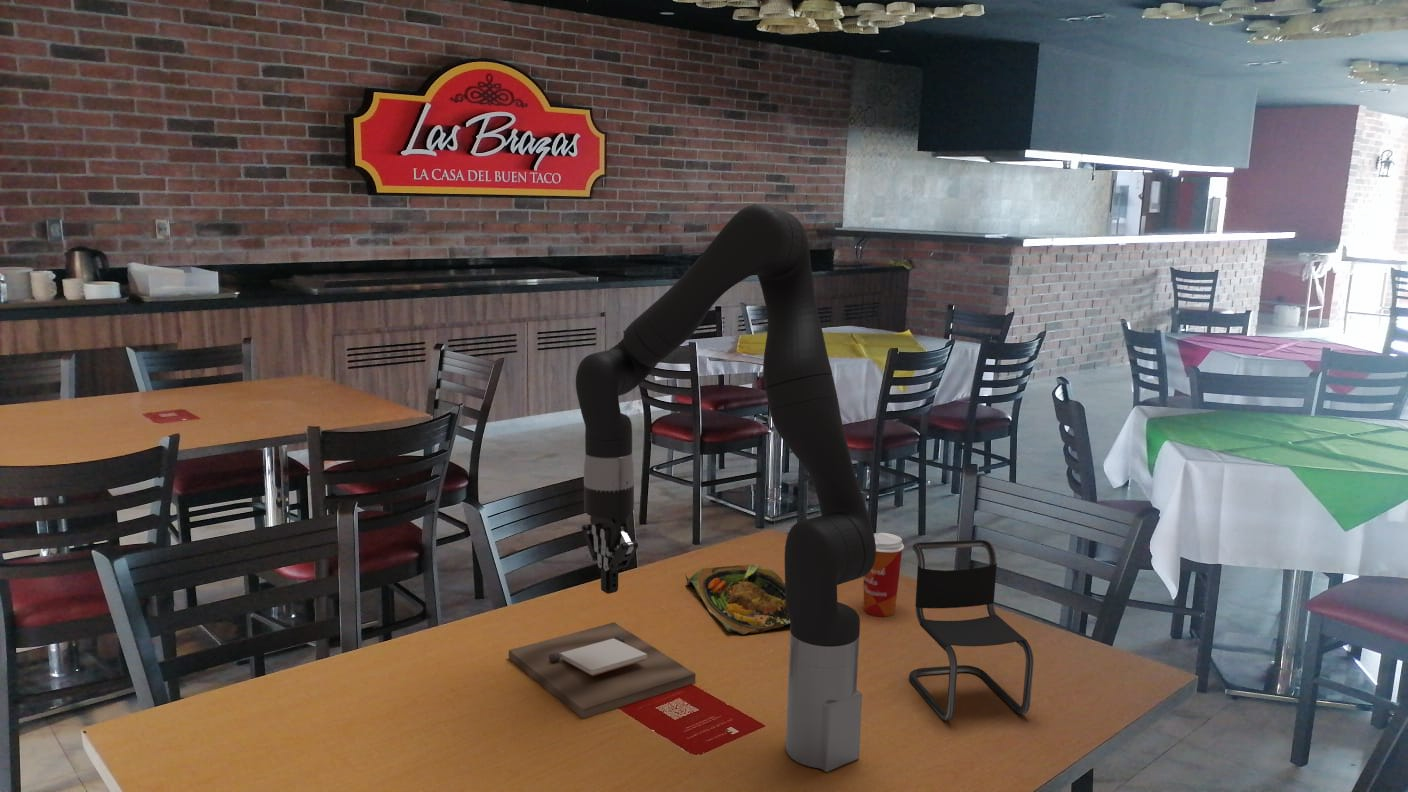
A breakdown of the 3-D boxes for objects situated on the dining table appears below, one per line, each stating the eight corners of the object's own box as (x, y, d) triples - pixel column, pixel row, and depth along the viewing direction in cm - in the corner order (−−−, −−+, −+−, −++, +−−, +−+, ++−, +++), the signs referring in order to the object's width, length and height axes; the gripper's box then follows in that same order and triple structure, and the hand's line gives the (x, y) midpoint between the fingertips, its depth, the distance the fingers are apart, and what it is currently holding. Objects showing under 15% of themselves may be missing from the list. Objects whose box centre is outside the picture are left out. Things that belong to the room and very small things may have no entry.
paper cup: (850, 606, 189) (853, 534, 186) (884, 600, 192) (888, 529, 189) (874, 622, 182) (878, 547, 179) (909, 615, 185) (913, 542, 182)
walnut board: (695, 682, 157) (695, 665, 157) (582, 719, 145) (582, 700, 145) (614, 630, 176) (614, 614, 176) (508, 658, 164) (508, 641, 164)
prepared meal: (825, 608, 179) (729, 617, 173) (824, 627, 180) (729, 637, 174) (766, 561, 205) (681, 568, 200) (765, 578, 206) (681, 585, 200)
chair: (977, 668, 164) (986, 538, 160) (1030, 721, 147) (1042, 577, 143) (901, 673, 162) (909, 542, 158) (947, 728, 145) (956, 582, 141)
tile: (613, 638, 166) (613, 644, 166) (559, 653, 160) (560, 659, 161) (647, 654, 158) (647, 660, 158) (591, 670, 152) (591, 676, 153)
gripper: (654, 488, 150) (653, 599, 153) (607, 469, 160) (607, 574, 163) (610, 495, 145) (611, 610, 148) (565, 476, 155) (566, 584, 158)
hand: (609, 591), depth 156 cm, fingers closed
